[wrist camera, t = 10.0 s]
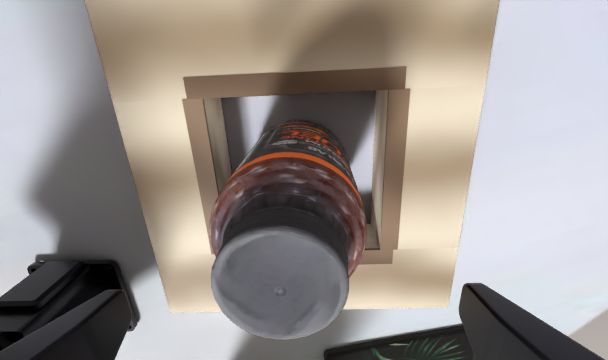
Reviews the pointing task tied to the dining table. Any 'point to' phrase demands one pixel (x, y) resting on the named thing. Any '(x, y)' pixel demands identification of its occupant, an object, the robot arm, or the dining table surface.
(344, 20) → the maple socket board
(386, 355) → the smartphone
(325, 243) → the supplement bottle
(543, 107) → the dining table surface
